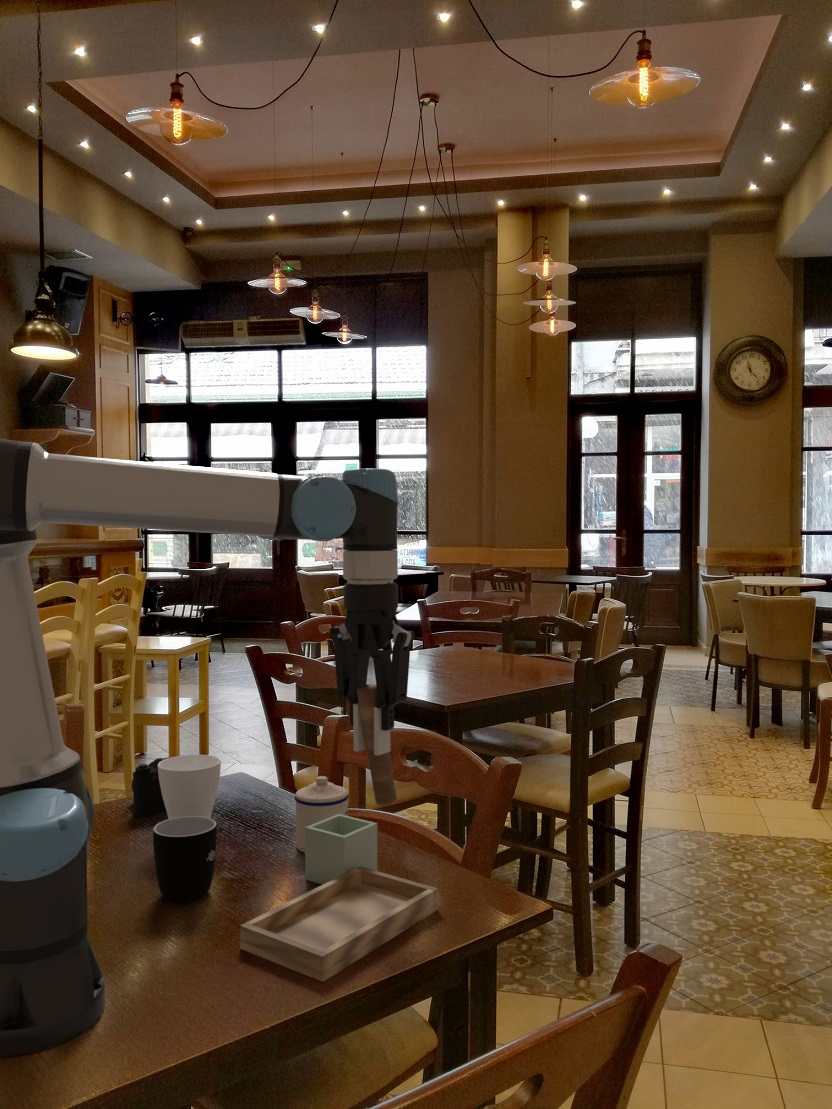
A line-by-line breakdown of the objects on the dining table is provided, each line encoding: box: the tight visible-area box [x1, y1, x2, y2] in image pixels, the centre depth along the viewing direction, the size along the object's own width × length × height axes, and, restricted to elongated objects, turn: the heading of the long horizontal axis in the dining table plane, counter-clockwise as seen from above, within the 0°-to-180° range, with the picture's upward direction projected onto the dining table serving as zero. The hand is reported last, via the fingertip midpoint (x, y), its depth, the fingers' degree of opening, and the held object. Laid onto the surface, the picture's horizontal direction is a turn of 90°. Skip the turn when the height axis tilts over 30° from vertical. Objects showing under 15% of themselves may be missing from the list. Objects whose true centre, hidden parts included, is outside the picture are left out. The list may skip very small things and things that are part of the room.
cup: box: [158, 754, 222, 820], centre depth 149 cm, size 10×10×14 cm
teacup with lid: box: [294, 775, 350, 854], centre depth 148 cm, size 12×9×12 cm
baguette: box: [357, 683, 397, 806], centre depth 122 cm, size 6×3×17 cm, turn 144°
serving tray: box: [239, 866, 439, 983], centre depth 116 cm, size 24×14×3 cm, turn 144°
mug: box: [152, 816, 218, 904], centre depth 129 cm, size 12×9×10 cm
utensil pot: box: [304, 814, 378, 885], centre depth 134 cm, size 8×8×8 cm
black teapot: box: [131, 756, 170, 818], centre depth 169 cm, size 14×11×10 cm
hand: (372, 750), depth 121 cm, fingers closed on baguette, 3 cm apart
